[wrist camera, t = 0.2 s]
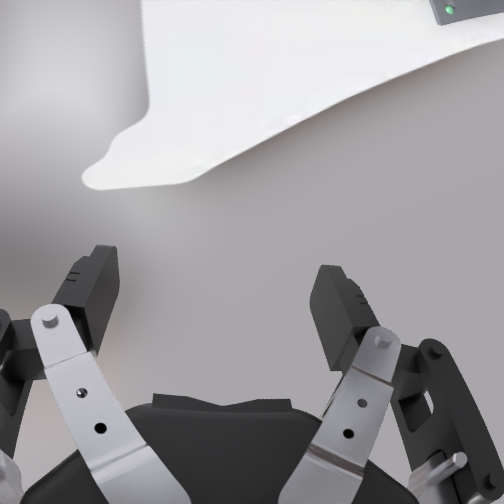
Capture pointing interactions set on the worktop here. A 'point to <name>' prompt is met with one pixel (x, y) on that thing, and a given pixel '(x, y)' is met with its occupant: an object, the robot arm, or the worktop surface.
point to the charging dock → (464, 9)
